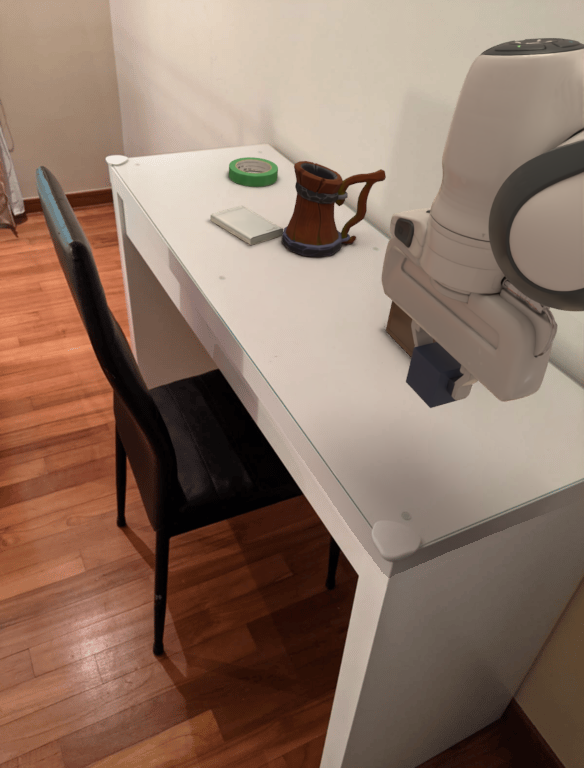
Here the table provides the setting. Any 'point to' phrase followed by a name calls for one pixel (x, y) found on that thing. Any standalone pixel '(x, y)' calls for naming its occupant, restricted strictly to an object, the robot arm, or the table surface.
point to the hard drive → (246, 225)
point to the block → (432, 373)
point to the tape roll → (253, 179)
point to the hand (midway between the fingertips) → (438, 377)
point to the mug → (323, 209)
